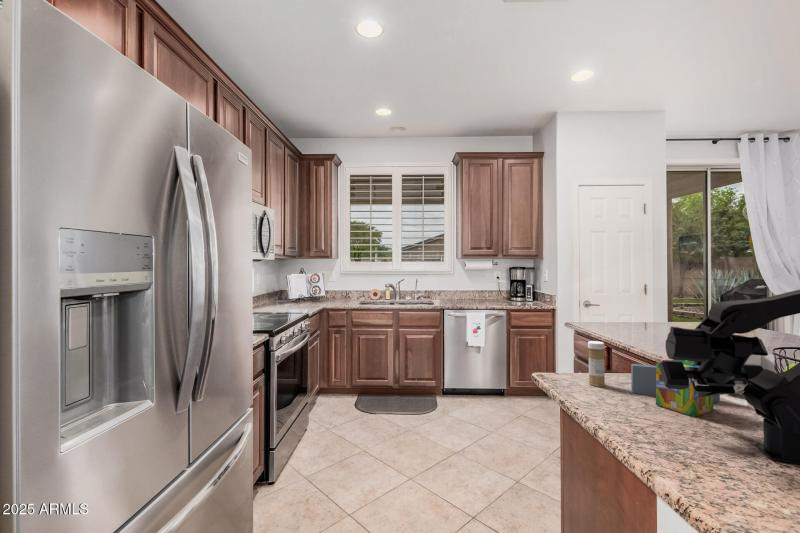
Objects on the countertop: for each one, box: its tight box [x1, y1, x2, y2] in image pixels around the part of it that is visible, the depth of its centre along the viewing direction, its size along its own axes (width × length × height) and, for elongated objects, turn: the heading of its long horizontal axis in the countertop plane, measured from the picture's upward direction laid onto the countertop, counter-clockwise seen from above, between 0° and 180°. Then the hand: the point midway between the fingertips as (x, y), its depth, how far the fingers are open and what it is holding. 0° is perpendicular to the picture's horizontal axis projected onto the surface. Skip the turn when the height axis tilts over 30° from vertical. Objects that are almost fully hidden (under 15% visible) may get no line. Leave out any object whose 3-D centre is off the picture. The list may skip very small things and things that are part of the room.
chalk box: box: [655, 359, 714, 418], centre depth 94 cm, size 9×9×15 cm
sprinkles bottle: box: [587, 340, 606, 388], centre depth 114 cm, size 5×5×14 cm
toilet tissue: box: [745, 353, 775, 372], centre depth 116 cm, size 11×12×10 cm
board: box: [630, 363, 721, 403], centre depth 103 cm, size 2×20×8 cm, turn 66°
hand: (700, 394), depth 86 cm, fingers closed
